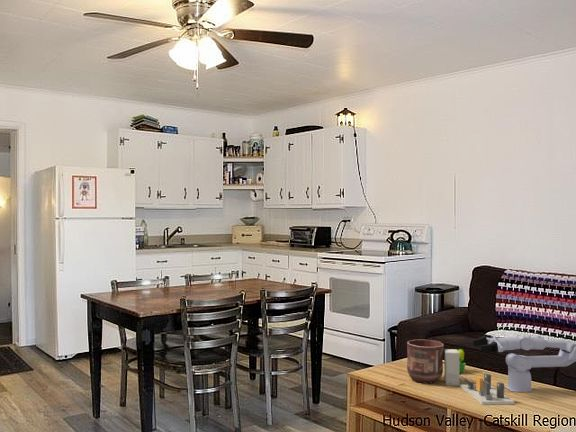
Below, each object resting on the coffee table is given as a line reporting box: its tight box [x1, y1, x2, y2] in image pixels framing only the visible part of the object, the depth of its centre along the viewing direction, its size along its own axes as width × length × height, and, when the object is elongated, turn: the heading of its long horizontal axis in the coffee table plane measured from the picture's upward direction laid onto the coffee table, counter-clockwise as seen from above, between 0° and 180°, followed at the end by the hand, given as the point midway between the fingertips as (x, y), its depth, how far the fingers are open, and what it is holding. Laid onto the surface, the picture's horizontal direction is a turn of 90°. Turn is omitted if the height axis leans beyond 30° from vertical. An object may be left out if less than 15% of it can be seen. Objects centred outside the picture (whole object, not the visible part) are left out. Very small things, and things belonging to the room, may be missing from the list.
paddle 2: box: [483, 380, 490, 397], centre depth 233 cm, size 1×4×7 cm, turn 3°
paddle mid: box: [475, 375, 484, 392], centre depth 240 cm, size 1×4×7 cm, turn 4°
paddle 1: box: [460, 375, 475, 388], centre depth 247 cm, size 1×4×7 cm
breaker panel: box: [459, 373, 515, 406], centre depth 241 cm, size 14×24×7 cm, turn 4°
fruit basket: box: [457, 348, 467, 374], centre depth 280 cm, size 11×9×11 cm
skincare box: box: [443, 348, 461, 387], centre depth 258 cm, size 8×7×16 cm
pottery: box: [406, 338, 445, 384], centre depth 263 cm, size 18×18×18 cm
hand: (476, 345), depth 248 cm, fingers open, 7 cm apart
